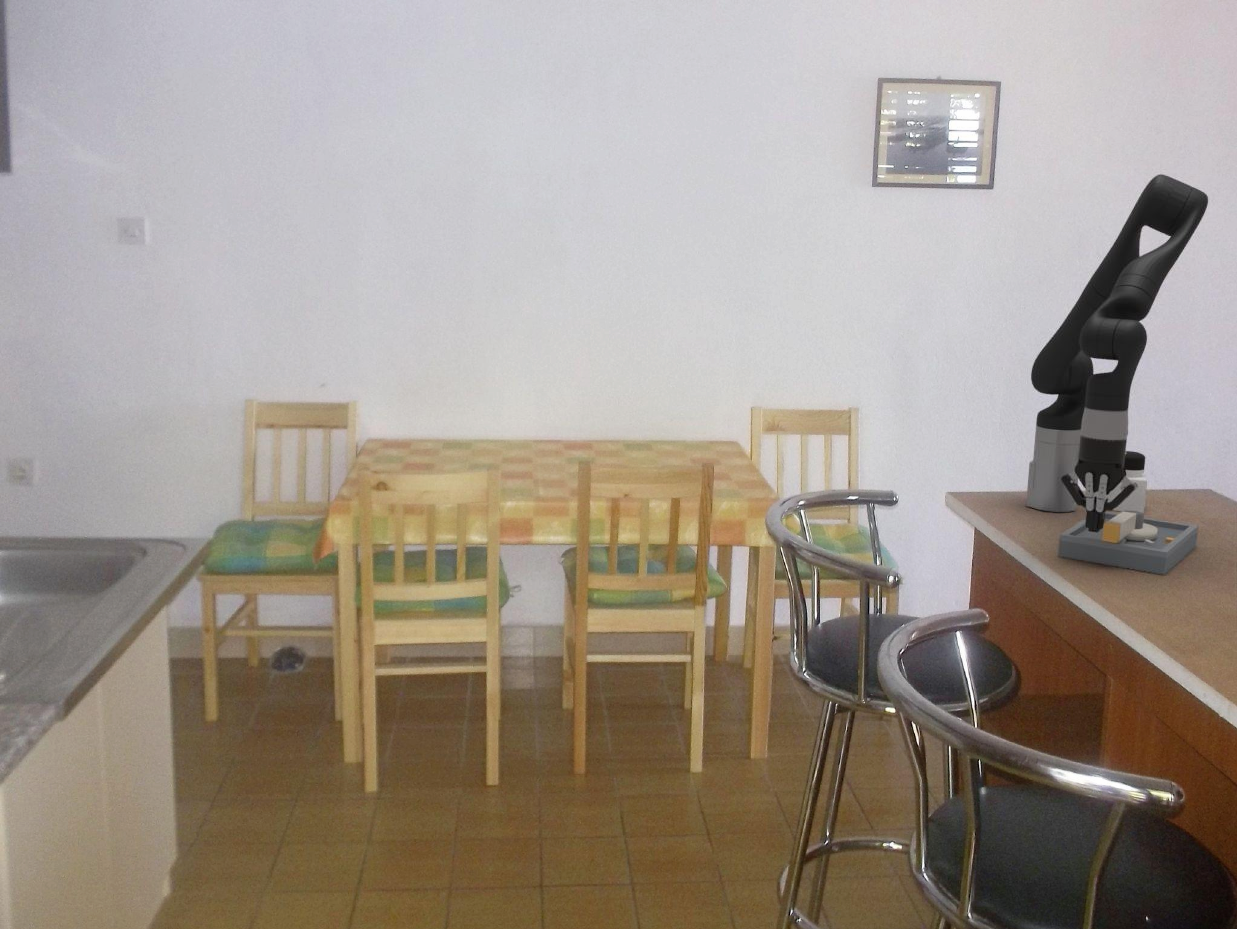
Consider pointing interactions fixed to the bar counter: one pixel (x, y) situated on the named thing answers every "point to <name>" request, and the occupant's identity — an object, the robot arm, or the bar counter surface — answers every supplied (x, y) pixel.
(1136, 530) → the white lever with disc
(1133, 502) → the medicine bottle
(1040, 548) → the bar counter surface
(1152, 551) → the grey tray
